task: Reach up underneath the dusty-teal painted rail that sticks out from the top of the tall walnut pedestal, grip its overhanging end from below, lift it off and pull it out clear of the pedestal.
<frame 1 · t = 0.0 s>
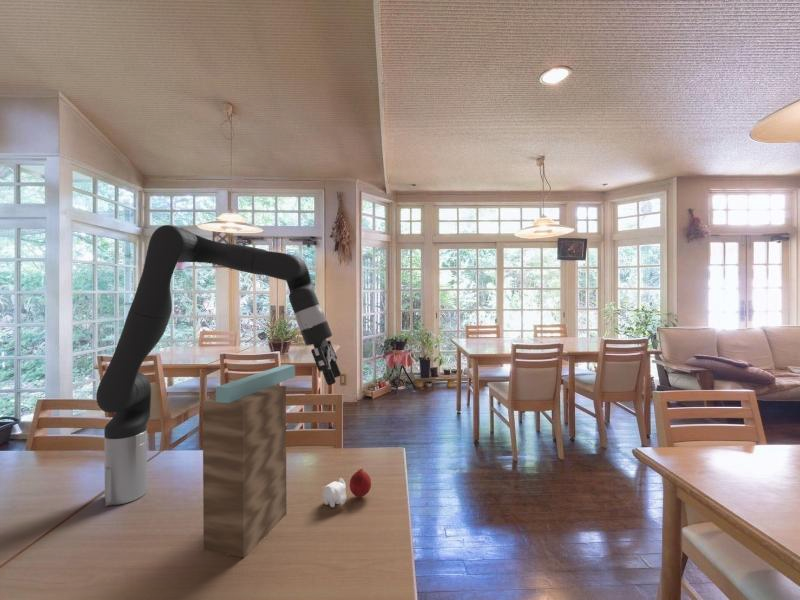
hand: (334, 380, 100), 31 cm above the table, tool tilted 20°, fingers open, 8 cm apart
onion: (360, 498, 99), on the table
rail: (260, 387, 89), point 32 cm above the table, touching pedestal
pedestal: (248, 530, 85), on the table
elephant figurine: (333, 505, 96), on the table
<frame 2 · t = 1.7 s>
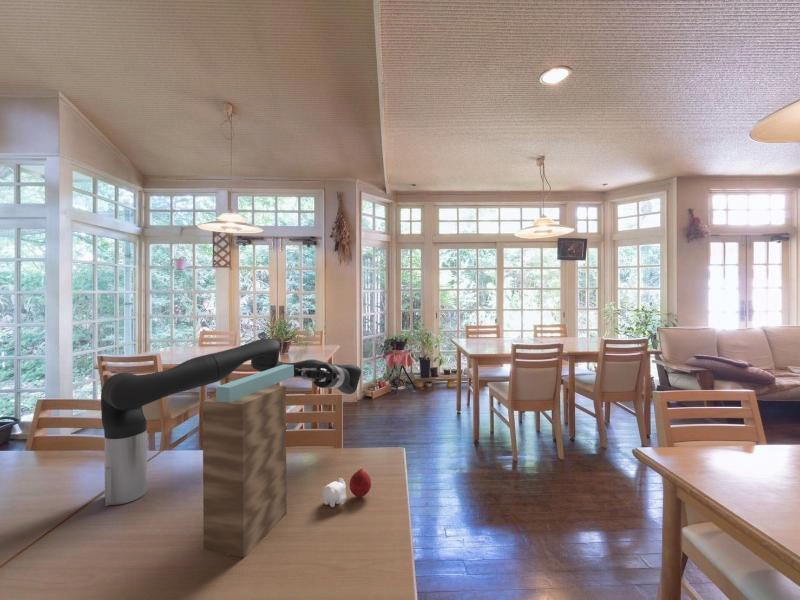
hand: (302, 372, 104), 33 cm above the table, tool pointing upward, fingers open, 8 cm apart
nothing on the table moved.
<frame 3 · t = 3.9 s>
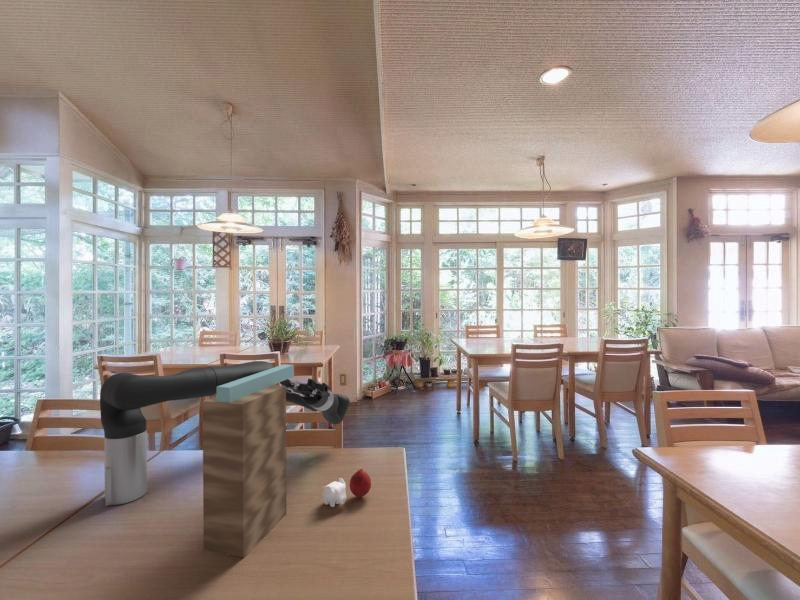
hand: (295, 381, 105), 30 cm above the table, tool pointing upward, fingers open, 8 cm apart
nothing on the table moved.
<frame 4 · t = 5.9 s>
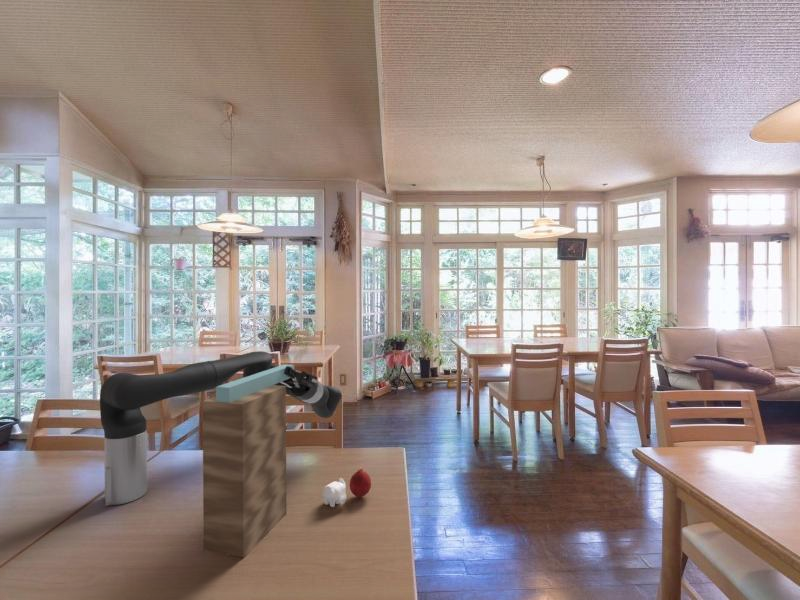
hand: (278, 369, 97), 35 cm above the table, tool pointing upward, fingers open, 4 cm apart
rail: (260, 387, 90), point 32 cm above the table, touching gripper, pedestal
everything else where it was.
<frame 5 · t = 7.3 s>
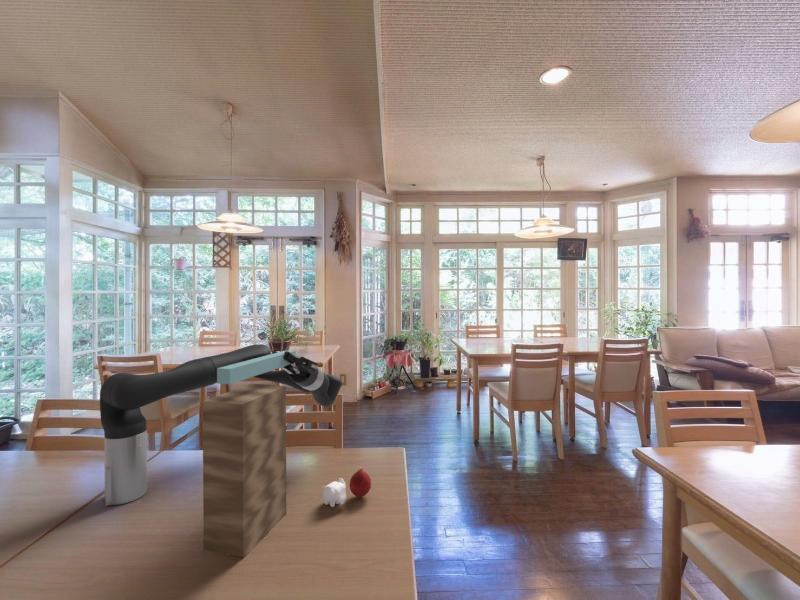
hand: (279, 354, 97), 39 cm above the table, tool pointing upward, fingers closed on rail, 3 cm apart
rail: (261, 371, 90), point 36 cm above the table, touching gripper
everything else where it was.
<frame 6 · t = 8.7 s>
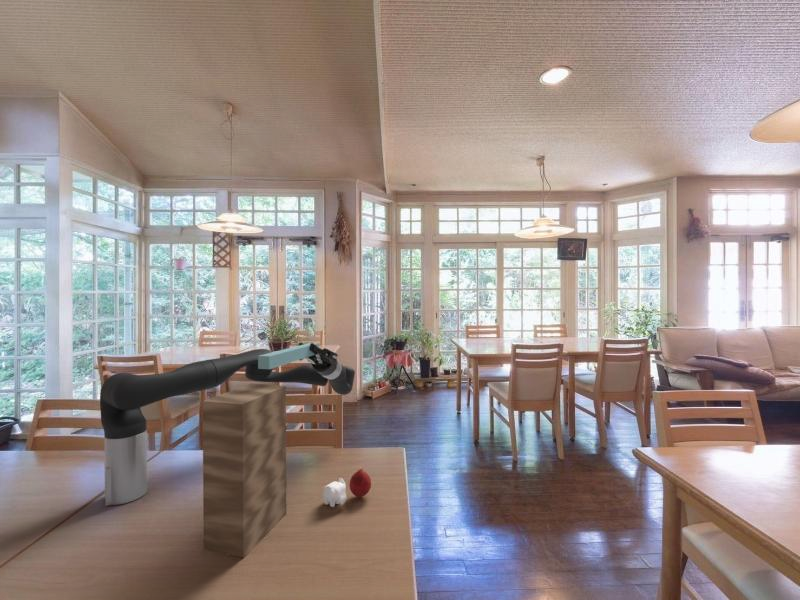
hand: (305, 346, 110), 39 cm above the table, tool pointing upward, fingers closed on rail, 3 cm apart
rail: (292, 360, 103), point 36 cm above the table, touching gripper
everything else where it was.
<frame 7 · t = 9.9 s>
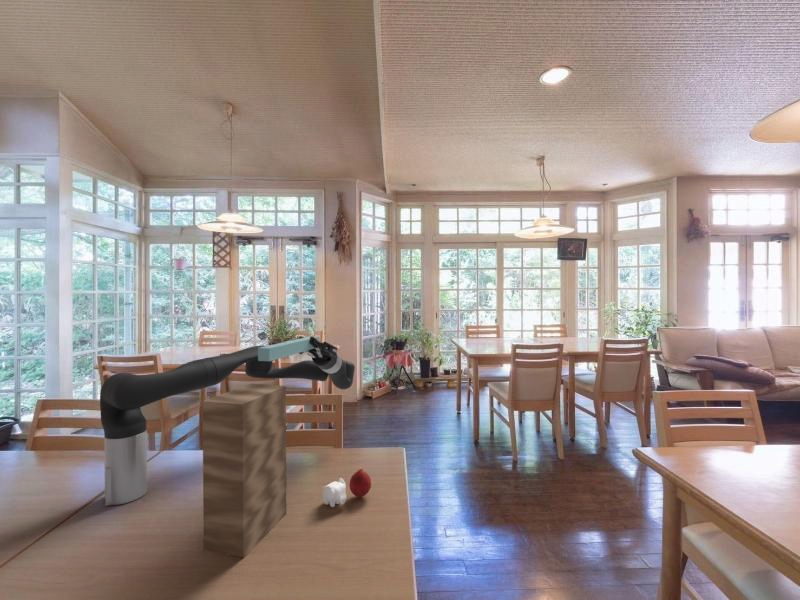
hand: (305, 339, 110), 41 cm above the table, tool pointing upward, fingers closed on rail, 3 cm apart
rail: (292, 353, 103), point 38 cm above the table, touching gripper
everything else where it was.
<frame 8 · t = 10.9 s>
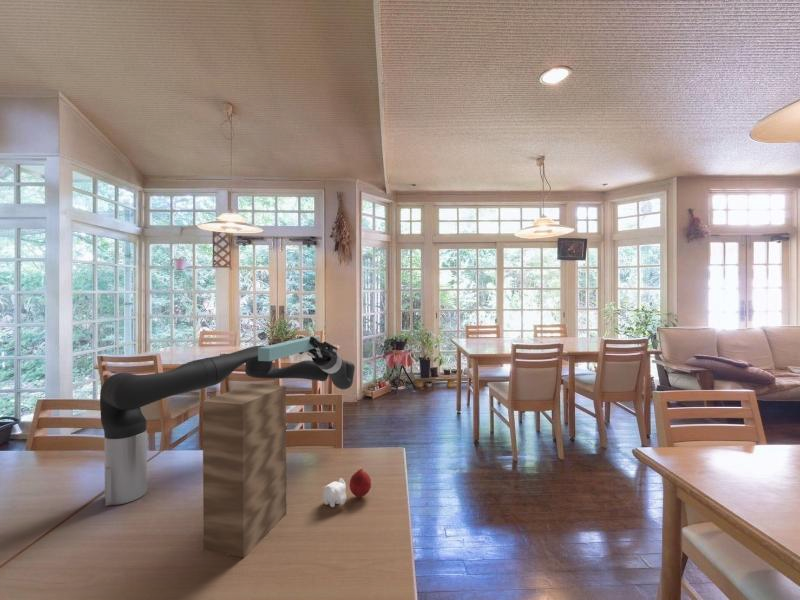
hand: (305, 339, 110), 41 cm above the table, tool pointing upward, fingers closed on rail, 3 cm apart
rail: (292, 353, 103), point 38 cm above the table, touching gripper
everything else where it was.
at the end: the gripper is holding rail; rail point 38.3 cm above the table; rail touching gripper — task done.
